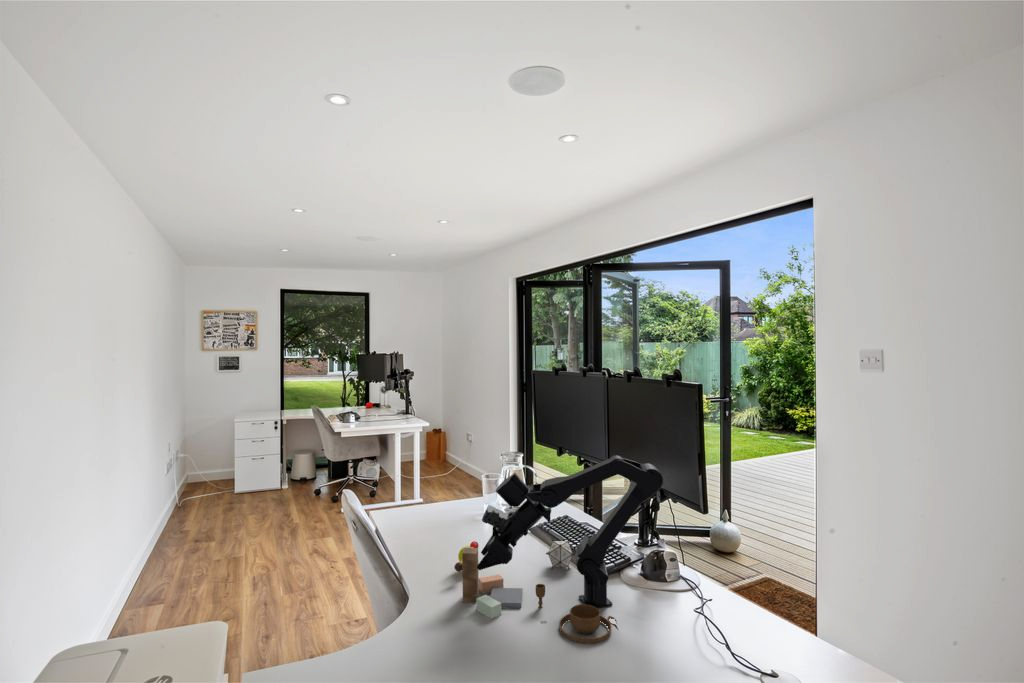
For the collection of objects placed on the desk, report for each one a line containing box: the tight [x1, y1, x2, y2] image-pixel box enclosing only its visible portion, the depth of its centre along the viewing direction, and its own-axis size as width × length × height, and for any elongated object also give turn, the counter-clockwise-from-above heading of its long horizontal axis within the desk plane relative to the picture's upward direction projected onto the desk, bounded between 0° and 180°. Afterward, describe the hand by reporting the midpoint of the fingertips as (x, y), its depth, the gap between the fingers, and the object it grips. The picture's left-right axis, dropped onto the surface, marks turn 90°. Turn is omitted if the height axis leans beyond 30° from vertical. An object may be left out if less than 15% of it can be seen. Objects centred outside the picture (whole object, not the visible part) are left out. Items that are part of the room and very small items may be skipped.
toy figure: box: [454, 541, 479, 572], centre depth 160 cm, size 18×6×7 cm, turn 168°
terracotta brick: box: [478, 574, 505, 594], centre depth 148 cm, size 6×3×3 cm, turn 112°
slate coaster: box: [489, 587, 524, 609], centre depth 142 cm, size 8×8×1 cm
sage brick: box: [475, 594, 502, 620], centre depth 136 cm, size 6×3×3 cm, turn 41°
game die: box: [545, 538, 575, 571], centre depth 162 cm, size 9×8×10 cm
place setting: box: [535, 583, 618, 644], centre depth 131 cm, size 18×20×6 cm
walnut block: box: [462, 547, 480, 603], centre depth 143 cm, size 4×4×12 cm
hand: (480, 561), depth 142 cm, fingers open, 9 cm apart
